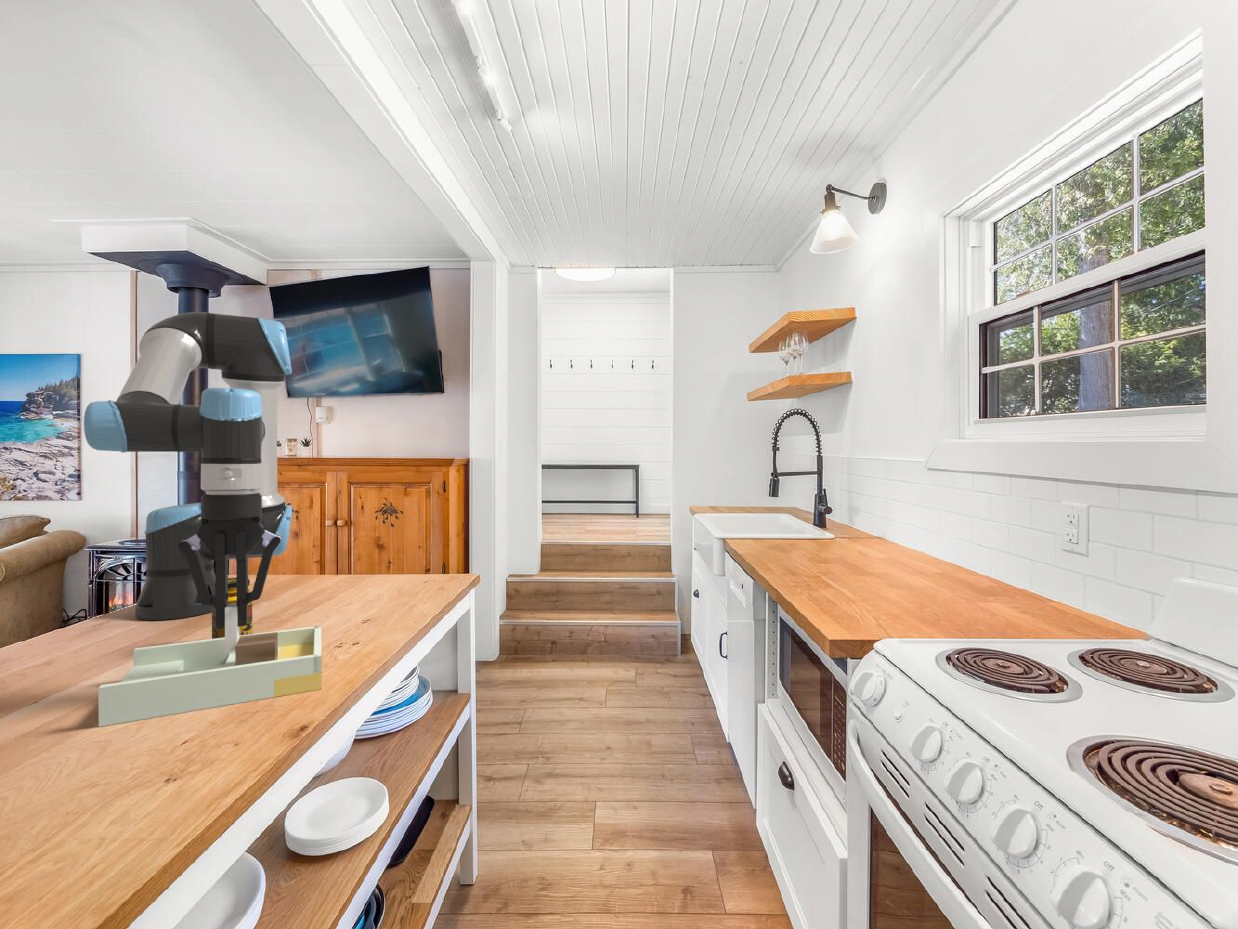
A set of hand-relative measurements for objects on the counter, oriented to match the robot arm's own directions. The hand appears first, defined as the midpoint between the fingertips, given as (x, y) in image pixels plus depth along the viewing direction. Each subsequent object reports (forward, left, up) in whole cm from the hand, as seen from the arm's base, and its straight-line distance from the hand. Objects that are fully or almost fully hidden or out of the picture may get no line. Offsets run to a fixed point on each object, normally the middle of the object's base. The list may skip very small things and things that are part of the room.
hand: (232, 648), depth 84 cm
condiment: (-20, -3, -6) cm, 21 cm away
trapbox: (0, -1, -6) cm, 6 cm away
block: (0, +3, -3) cm, 4 cm away
